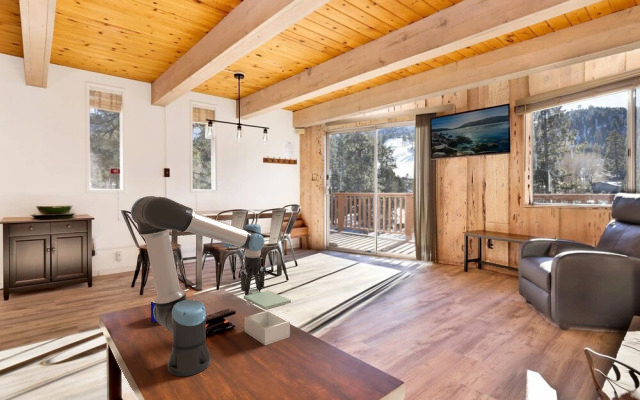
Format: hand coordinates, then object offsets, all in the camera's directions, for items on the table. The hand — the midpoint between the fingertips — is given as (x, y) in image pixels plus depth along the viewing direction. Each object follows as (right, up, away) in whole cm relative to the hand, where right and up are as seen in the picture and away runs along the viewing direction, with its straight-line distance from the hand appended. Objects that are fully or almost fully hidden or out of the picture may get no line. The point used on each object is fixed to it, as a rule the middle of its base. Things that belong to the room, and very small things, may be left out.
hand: (252, 303), depth 163 cm
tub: (+8, -11, -9) cm, 17 cm away
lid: (+6, +3, -7) cm, 10 cm away
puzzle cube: (-46, -11, +7) cm, 47 cm away
